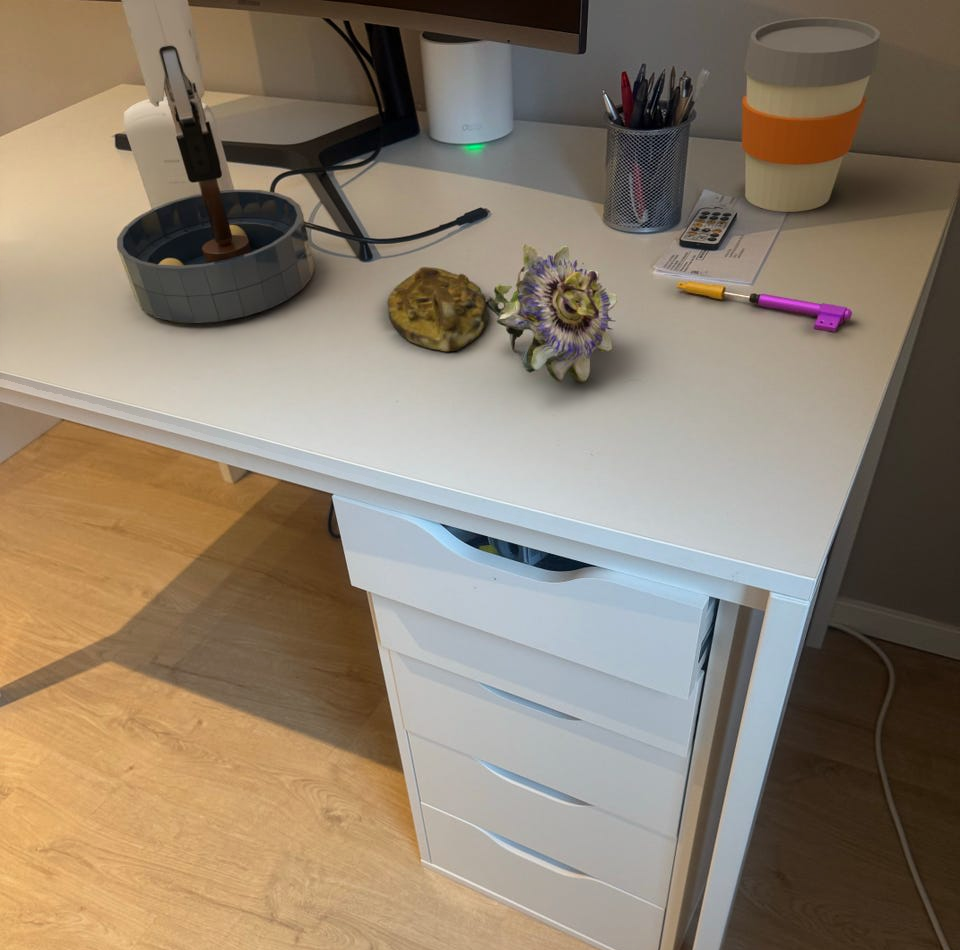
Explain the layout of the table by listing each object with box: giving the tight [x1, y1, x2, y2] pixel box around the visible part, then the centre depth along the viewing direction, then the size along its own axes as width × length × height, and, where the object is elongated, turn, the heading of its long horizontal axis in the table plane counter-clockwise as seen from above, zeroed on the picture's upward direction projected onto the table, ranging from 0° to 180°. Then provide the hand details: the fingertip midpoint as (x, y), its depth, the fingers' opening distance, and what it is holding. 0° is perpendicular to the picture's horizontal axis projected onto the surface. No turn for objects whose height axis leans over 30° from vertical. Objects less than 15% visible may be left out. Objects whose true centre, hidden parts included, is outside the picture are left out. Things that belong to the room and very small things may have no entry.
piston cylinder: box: [676, 280, 853, 333], centre depth 82 cm, size 3×1×16 cm
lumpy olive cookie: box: [387, 266, 489, 352], centre depth 84 cm, size 9×5×15 cm
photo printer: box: [123, 96, 235, 209], centre depth 102 cm, size 10×4×12 cm, turn 81°
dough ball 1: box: [158, 258, 183, 266], centre depth 91 cm, size 3×3×3 cm
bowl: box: [116, 188, 315, 324], centre depth 91 cm, size 18×18×6 cm
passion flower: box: [486, 244, 618, 384], centre depth 76 cm, size 11×11×12 cm
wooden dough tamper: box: [198, 119, 252, 264], centre depth 89 cm, size 5×5×14 cm
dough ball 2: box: [229, 225, 247, 238], centre depth 96 cm, size 3×3×3 cm
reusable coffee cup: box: [741, 16, 881, 213], centre depth 93 cm, size 12×13×15 cm
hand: (205, 172), depth 87 cm, fingers closed on wooden dough tamper
